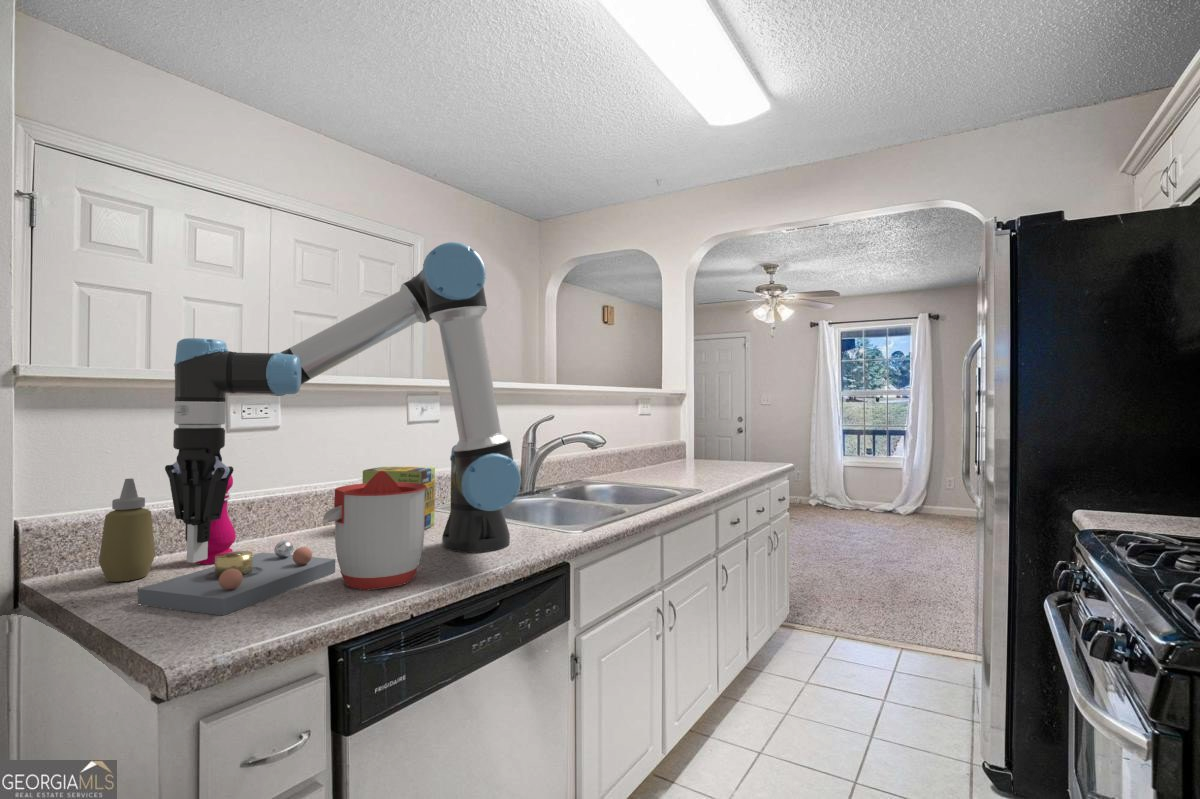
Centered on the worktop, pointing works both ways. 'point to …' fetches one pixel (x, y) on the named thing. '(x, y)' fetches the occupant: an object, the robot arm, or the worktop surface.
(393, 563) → the citrus juicer
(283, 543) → the ball
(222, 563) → the short gold cylinder
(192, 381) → the robot arm
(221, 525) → the pepper mill
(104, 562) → the squeeze bottle
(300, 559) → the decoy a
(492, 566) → the worktop surface
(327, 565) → the grey tray
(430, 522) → the protein box
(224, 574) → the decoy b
